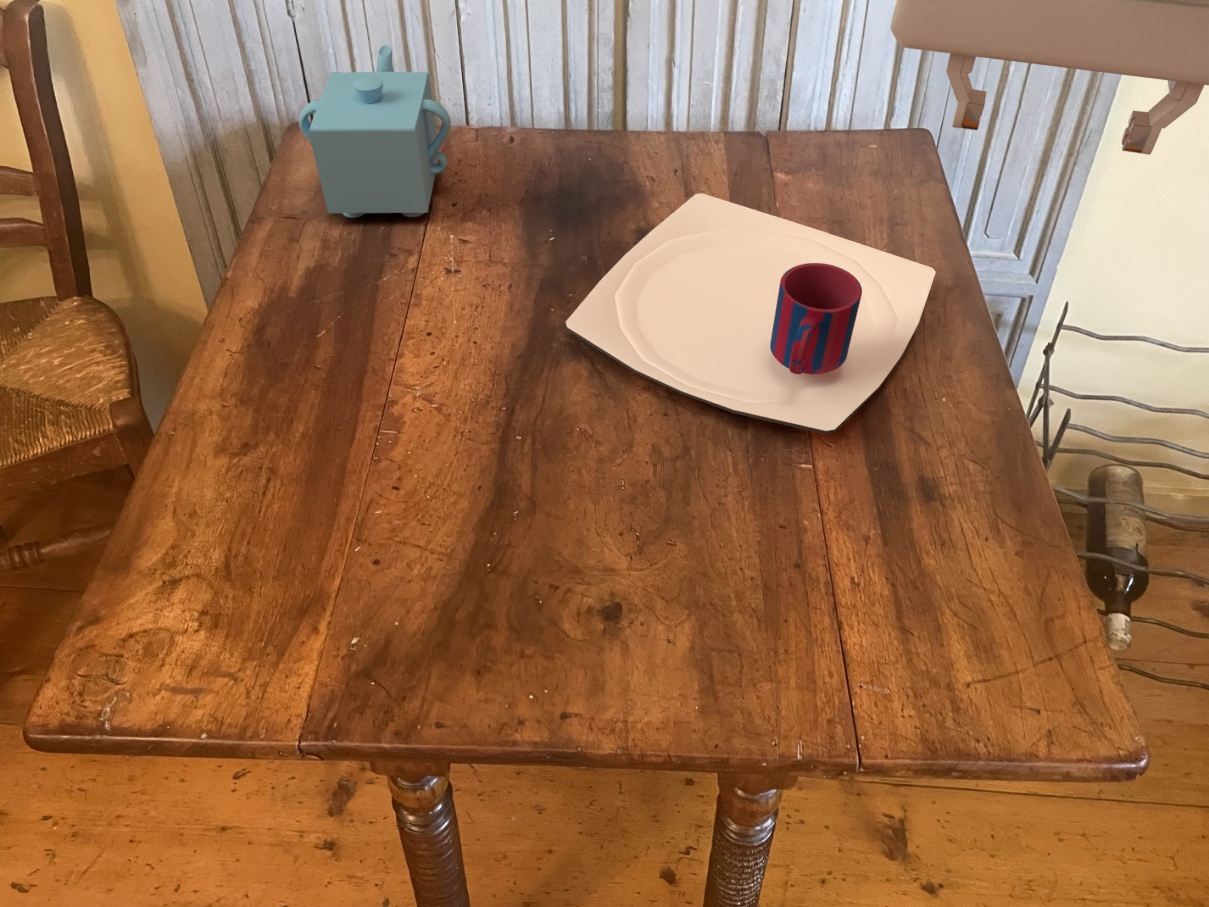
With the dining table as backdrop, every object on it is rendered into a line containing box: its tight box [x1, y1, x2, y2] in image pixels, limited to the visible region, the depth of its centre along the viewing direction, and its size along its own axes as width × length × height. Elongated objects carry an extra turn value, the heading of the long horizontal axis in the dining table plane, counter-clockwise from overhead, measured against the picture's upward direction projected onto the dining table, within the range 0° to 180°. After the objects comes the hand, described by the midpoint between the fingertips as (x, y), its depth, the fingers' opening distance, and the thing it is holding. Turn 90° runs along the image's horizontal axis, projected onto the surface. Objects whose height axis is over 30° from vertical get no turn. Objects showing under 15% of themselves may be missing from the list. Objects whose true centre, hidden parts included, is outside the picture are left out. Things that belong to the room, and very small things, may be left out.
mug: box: [770, 263, 862, 374], centre depth 83 cm, size 7×10×7 cm
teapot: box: [298, 44, 452, 219], centre depth 106 cm, size 18×16×13 cm
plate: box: [564, 192, 937, 435], centre depth 92 cm, size 29×29×3 cm
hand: (1048, 136), depth 57 cm, fingers open, 8 cm apart
